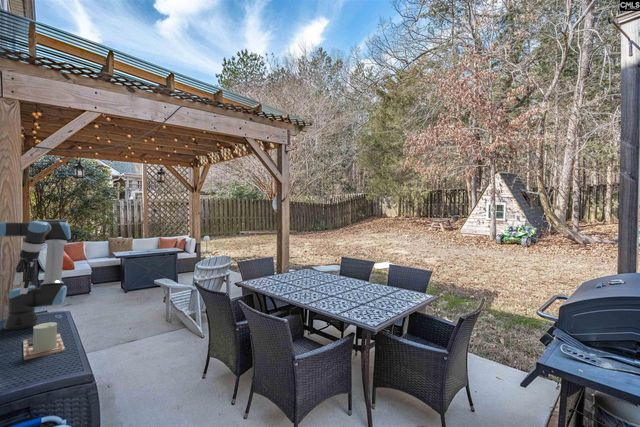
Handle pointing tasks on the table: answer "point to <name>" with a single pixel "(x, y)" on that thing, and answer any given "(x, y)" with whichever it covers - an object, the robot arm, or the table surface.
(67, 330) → the table surface
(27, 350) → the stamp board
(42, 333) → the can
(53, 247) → the robot arm
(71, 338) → the table surface
